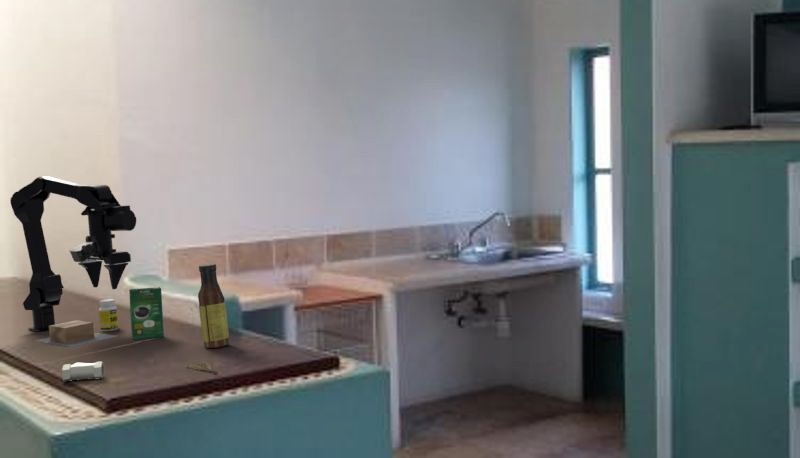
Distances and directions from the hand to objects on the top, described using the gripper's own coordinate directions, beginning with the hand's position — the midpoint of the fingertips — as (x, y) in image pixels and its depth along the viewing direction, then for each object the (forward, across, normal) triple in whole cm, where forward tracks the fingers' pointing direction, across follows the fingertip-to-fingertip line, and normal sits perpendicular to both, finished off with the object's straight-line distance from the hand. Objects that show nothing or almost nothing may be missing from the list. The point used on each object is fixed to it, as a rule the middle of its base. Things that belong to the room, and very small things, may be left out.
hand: (104, 288), depth 251 cm
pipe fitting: (+12, +46, -34) cm, 59 cm away
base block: (+11, +3, -13) cm, 17 cm away
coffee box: (+12, +21, -2) cm, 24 cm away
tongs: (+12, +65, -17) cm, 69 cm away
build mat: (+12, +3, -12) cm, 17 cm away
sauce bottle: (+12, +47, 0) cm, 48 cm away
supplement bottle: (+12, 0, 0) cm, 12 cm away
